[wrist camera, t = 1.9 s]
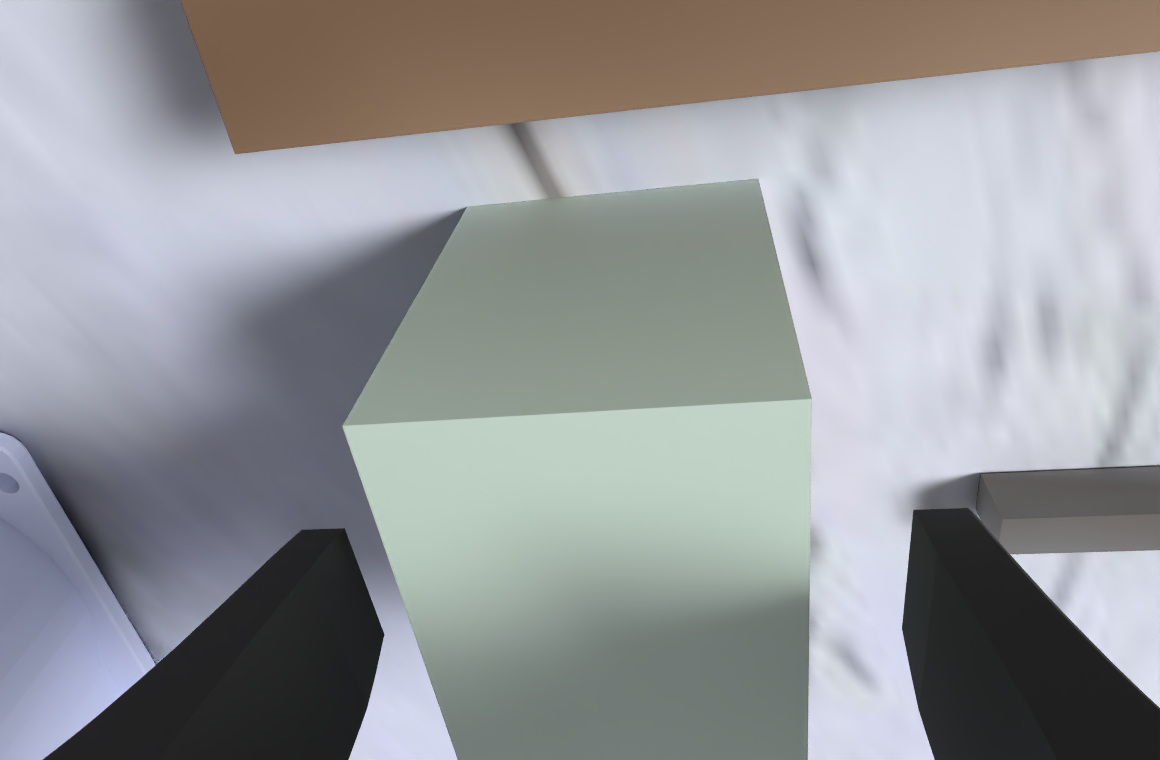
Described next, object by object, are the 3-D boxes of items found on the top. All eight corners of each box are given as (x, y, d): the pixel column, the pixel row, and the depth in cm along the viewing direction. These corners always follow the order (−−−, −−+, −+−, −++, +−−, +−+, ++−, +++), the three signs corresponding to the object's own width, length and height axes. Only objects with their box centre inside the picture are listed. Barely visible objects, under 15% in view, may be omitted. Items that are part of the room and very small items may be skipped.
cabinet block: (766, 545, 17) (806, 853, 12) (542, 553, 17) (487, 846, 12) (757, 176, 13) (811, 398, 8) (468, 205, 13) (341, 425, 8)
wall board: (1478, 489, 14) (1650, 628, 12) (449, 527, 17) (409, 646, 14) (1950, -373, 8) (2497, -465, 6) (268, -103, 11) (150, -86, 9)
